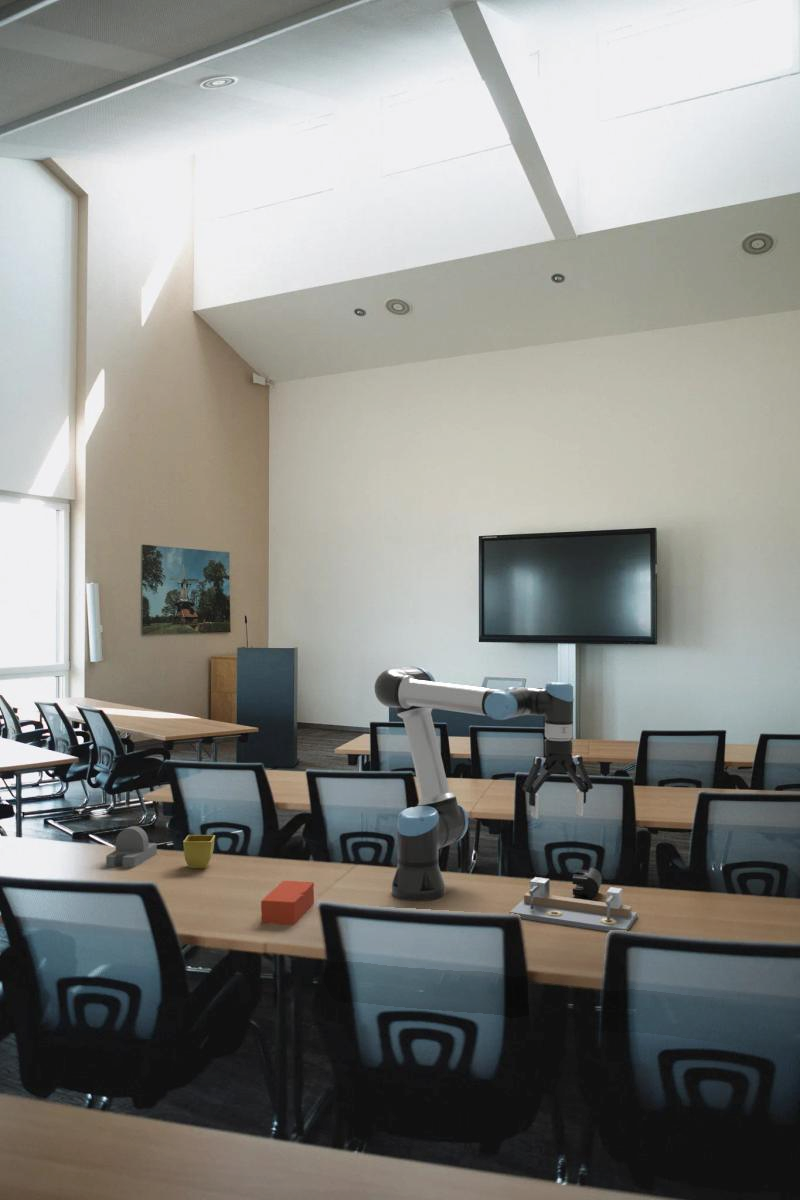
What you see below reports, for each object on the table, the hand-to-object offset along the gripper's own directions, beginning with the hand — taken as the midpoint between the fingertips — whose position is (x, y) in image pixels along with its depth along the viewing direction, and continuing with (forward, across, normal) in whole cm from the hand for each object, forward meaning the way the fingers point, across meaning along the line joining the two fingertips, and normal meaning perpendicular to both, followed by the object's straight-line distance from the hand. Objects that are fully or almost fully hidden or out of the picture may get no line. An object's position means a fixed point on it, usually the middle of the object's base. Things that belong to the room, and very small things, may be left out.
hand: (557, 816), depth 242 cm
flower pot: (+27, -90, +67) cm, 116 cm away
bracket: (+28, -111, +82) cm, 140 cm away
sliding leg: (+22, -8, -5) cm, 24 cm away
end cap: (+24, +11, +2) cm, 26 cm away
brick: (+26, -71, +14) cm, 77 cm away
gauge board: (+23, -1, -12) cm, 26 cm away
